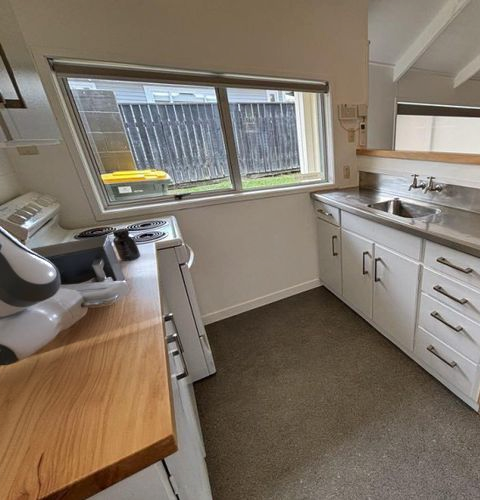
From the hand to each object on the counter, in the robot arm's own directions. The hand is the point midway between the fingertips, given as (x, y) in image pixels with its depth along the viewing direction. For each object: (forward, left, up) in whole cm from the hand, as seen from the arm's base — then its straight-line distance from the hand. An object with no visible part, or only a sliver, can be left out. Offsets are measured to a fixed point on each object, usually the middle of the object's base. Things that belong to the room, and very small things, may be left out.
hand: (103, 279), depth 80 cm
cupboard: (-7, +12, -8) cm, 16 cm away
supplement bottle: (+3, +40, -8) cm, 41 cm away
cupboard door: (-7, +2, -8) cm, 11 cm away
